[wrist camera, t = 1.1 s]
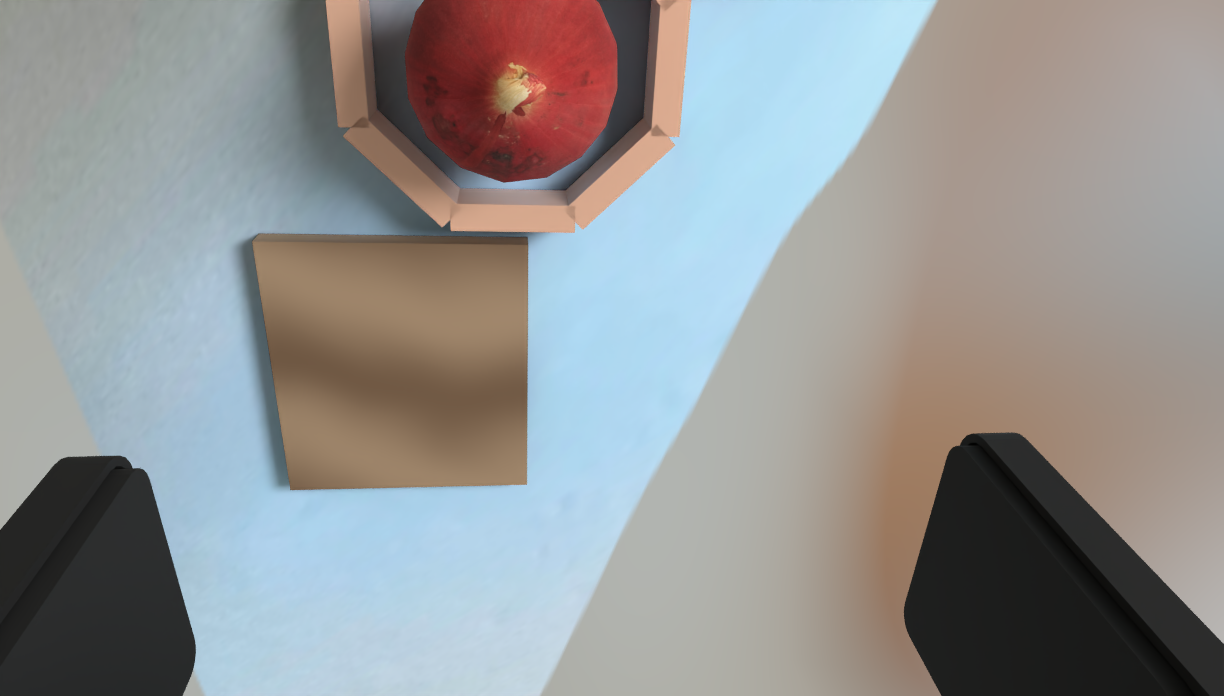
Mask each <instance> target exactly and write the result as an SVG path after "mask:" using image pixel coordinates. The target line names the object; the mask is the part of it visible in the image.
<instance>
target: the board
mask: <svg viewBox="0 0 1224 696" xmlns="http://www.w3.org/2000/svg"><path fill="white" fill-rule="evenodd" d="M252 244H253V251H254V257H255V264H256V270H257V276H258V283H259V289H260V296H261V302H262V309H263V315H264V322H265V328H266V335H267V341H268V347H269V354H270V360H271V367H272V373H273V380H274V386H275V393H276V399H277V406H278V412H279V419H280V425H281V431H282V438H283V444H284V451H285V457H286V464H287V470H288V477H289V483H290V490H312V489H355V488H399V487H443V486H486V485H527V359H528V237H476V236H401V235H326V234H258V235H257V236H256V238H255V239H254V240H253V241H252Z"/></svg>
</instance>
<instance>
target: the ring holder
mask: <svg viewBox="0 0 1224 696" xmlns="http://www.w3.org/2000/svg"><path fill="white" fill-rule="evenodd" d="M326 9H327V19H328V29H329V40H330V50H331V60H332V70H333V80H334V90H335V101H336V111H337V121H338V127H350V128H349V129H348V130H347V132H346V133H345V134H344V135H343V137H344V138H345V139H346V140H347V141H349V142H350V143H351V144H352V145H353V146H354V147H355V148H356V149H357V150H358V151H359V152H361V153H362V154H363V155H364V156H365V157H366V158H367V159H368V160H369V161H370V162H371V163H373V164H374V165H375V166H376V167H377V168H378V169H379V170H380V171H381V172H382V173H383V174H384V175H386V176H387V177H388V178H389V179H390V180H391V181H392V182H393V183H394V184H395V185H396V186H398V187H399V188H400V189H401V190H402V191H403V192H404V193H405V194H406V195H407V196H408V197H410V198H411V199H412V200H413V201H414V202H415V203H416V204H417V205H418V206H419V207H420V208H422V209H423V210H424V211H425V212H426V213H427V214H428V215H429V216H430V217H431V218H432V219H433V220H435V221H436V222H437V223H438V224H439V225H440V226H441V227H443V226H444V225H445V224H446V223H447V222H448V221H450V226H451V231H493V232H564V233H575V222H576V223H577V224H578V225H579V226H580V227H581V228H582V229H584V228H585V227H586V226H587V225H588V224H589V223H591V222H592V221H593V220H594V219H595V218H596V217H597V216H598V215H599V214H600V213H602V212H603V211H604V210H605V209H606V208H607V207H608V206H609V205H610V204H611V203H612V202H614V201H615V200H616V199H617V198H618V197H619V196H620V195H621V194H622V193H623V192H624V191H626V190H627V189H628V188H629V187H630V186H631V185H632V184H633V183H634V182H635V181H637V180H638V179H639V178H640V177H641V176H642V175H643V174H644V173H645V172H646V171H647V170H649V169H650V168H651V167H652V166H653V165H654V164H655V163H656V162H657V161H658V160H660V159H661V158H662V157H663V156H664V155H665V154H666V153H667V152H668V151H669V150H670V149H672V148H673V147H674V146H675V144H674V143H673V142H672V140H671V139H670V138H669V137H679V134H680V123H681V111H682V100H683V88H684V77H685V66H686V54H687V43H688V31H689V20H690V9H691V0H651V11H650V26H649V41H648V56H647V71H646V86H645V101H644V116H643V118H642V119H641V120H640V121H639V122H638V123H637V124H636V125H635V126H634V127H633V128H632V129H631V130H630V131H628V132H627V133H626V134H625V135H624V136H623V137H622V138H621V139H620V140H619V141H618V142H617V143H616V144H615V145H614V146H612V147H611V148H610V149H609V150H608V151H607V152H606V153H605V154H604V155H603V156H602V157H601V158H600V159H599V160H597V161H596V162H595V163H594V164H593V165H592V166H591V167H590V168H589V169H588V170H587V171H586V172H585V173H584V174H583V175H581V176H580V177H579V178H578V179H577V180H576V181H575V182H574V183H573V184H572V185H571V186H570V187H569V188H568V189H566V190H525V189H476V188H459V187H458V186H457V185H456V184H455V183H454V182H453V181H452V180H451V179H450V178H449V177H448V176H447V175H446V174H445V173H444V172H442V171H441V170H440V169H439V168H438V167H437V166H436V165H435V164H434V163H433V162H432V161H431V160H430V159H429V158H428V157H427V156H426V155H425V154H424V153H423V152H422V151H420V150H419V149H418V148H417V147H416V146H415V145H414V144H413V143H412V142H411V141H410V140H409V139H408V138H407V137H406V136H405V135H404V134H403V133H402V132H401V131H400V130H399V129H397V128H396V127H395V126H394V125H393V124H392V123H391V122H390V121H389V120H388V119H387V118H386V117H385V116H384V115H383V114H382V113H381V112H380V111H379V110H378V109H377V99H376V86H375V73H374V59H373V46H372V33H371V20H370V7H369V0H326Z"/></svg>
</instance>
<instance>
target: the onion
mask: <svg viewBox="0 0 1224 696" xmlns="http://www.w3.org/2000/svg"><path fill="white" fill-rule="evenodd" d="M405 64H406V77H407V90H408V99H409V101H410V103H411V105H412V107H413V109H414V111H415V113H416V115H417V118H418V120H419V122H420V124H421V126H422V128H423V130H424V132H425V134H426V136H427V138H428V139H430V140H431V141H432V142H433V143H434V144H435V145H436V146H437V147H438V148H440V149H441V150H442V151H443V152H444V153H445V154H446V155H447V156H449V157H450V158H451V159H452V160H453V161H454V162H455V163H456V164H457V165H459V166H460V167H461V168H463V169H466V170H469V171H472V172H475V173H478V174H481V175H484V176H486V177H489V178H492V179H495V180H498V181H501V182H513V181H521V180H530V179H538V178H546V177H548V176H550V175H552V174H553V173H555V172H557V171H558V170H560V169H562V168H563V167H565V166H567V165H568V164H570V163H572V162H574V161H575V160H577V159H579V158H580V157H582V155H583V154H584V153H585V152H586V151H587V149H588V148H589V147H590V146H591V144H592V143H593V142H594V141H595V139H596V138H597V137H598V136H599V135H600V133H601V132H602V131H603V130H604V128H605V127H606V125H607V121H608V118H609V115H610V112H611V108H612V105H613V102H614V99H615V95H616V92H617V43H616V41H615V38H614V36H613V34H612V31H611V29H610V27H609V25H608V22H607V20H606V18H605V15H604V13H603V11H602V8H601V6H600V4H599V2H597V1H596V0H424V2H423V3H422V4H421V6H420V7H419V8H418V9H417V11H416V13H415V17H414V21H413V24H412V28H411V32H410V36H409V39H408V43H407V47H406V51H405Z"/></svg>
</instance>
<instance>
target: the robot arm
mask: <svg viewBox="0 0 1224 696" xmlns="http://www.w3.org/2000/svg"><path fill="white" fill-rule="evenodd" d="M904 619H905V625H906V629H907V632H908V634H909V636H910V638H911V640H912V642H913V644H914V646H915V648H916V649H917V651H918V653H919V655H920V657H921V659H922V660H923V662H924V664H925V666H926V668H927V670H928V672H929V673H930V675H931V677H932V679H933V681H934V683H935V684H936V686H937V688H938V690H939V692H940V694H941V696H1224V644H1223V643H1222V642H1221V641H1220V640H1219V639H1218V638H1217V637H1216V636H1215V635H1214V634H1213V633H1212V632H1211V630H1210V629H1209V628H1208V627H1207V626H1206V625H1204V623H1203V622H1202V621H1201V620H1200V619H1199V618H1198V617H1197V616H1196V615H1195V614H1194V613H1193V612H1192V611H1191V610H1190V609H1189V608H1188V607H1187V606H1186V604H1185V603H1184V602H1183V601H1182V600H1181V599H1180V598H1179V597H1178V596H1177V595H1176V594H1175V593H1174V592H1173V591H1172V590H1171V589H1170V588H1169V587H1168V586H1167V585H1166V584H1165V583H1164V582H1163V581H1162V580H1161V579H1160V577H1159V576H1158V575H1157V574H1156V573H1155V572H1154V571H1153V570H1152V569H1151V568H1150V567H1149V566H1148V565H1147V564H1146V563H1145V562H1144V561H1143V560H1142V559H1141V558H1140V557H1139V556H1138V555H1137V554H1136V553H1135V551H1134V550H1133V549H1132V548H1131V547H1130V546H1129V545H1128V544H1127V543H1126V542H1125V541H1124V540H1123V539H1122V538H1121V537H1120V536H1119V535H1118V534H1117V533H1116V532H1115V531H1114V530H1113V529H1112V528H1111V527H1110V526H1109V524H1107V522H1106V521H1105V520H1104V519H1103V518H1102V517H1101V516H1100V515H1099V514H1098V513H1097V512H1096V511H1095V510H1094V509H1093V508H1092V507H1091V506H1090V505H1089V504H1088V503H1087V502H1086V501H1085V500H1084V499H1083V498H1082V496H1081V495H1079V494H1078V492H1077V491H1075V489H1074V488H1073V487H1072V486H1071V485H1070V484H1069V483H1068V482H1067V481H1066V480H1065V479H1064V478H1063V477H1062V476H1061V475H1060V474H1059V473H1058V472H1057V470H1056V469H1055V468H1054V467H1053V466H1051V464H1050V463H1049V462H1048V461H1047V460H1046V459H1045V458H1044V457H1043V456H1042V455H1041V454H1040V453H1039V452H1038V451H1037V450H1036V449H1035V448H1034V447H1033V446H1032V445H1031V443H1029V441H1028V440H1026V439H1025V438H1024V437H1023V436H1022V435H1020V434H1017V433H981V434H980V433H978V434H970V435H967V436H966V437H965V438H964V439H963V440H962V442H961V444H960V446H955V447H953V448H952V449H951V450H950V451H949V454H948V456H947V459H946V463H945V466H944V470H943V473H942V477H941V480H940V484H939V487H938V490H937V494H936V498H935V501H934V505H933V508H932V511H931V515H930V518H929V522H928V525H927V529H926V532H925V536H924V539H923V543H922V546H921V549H920V553H919V556H918V560H917V564H916V567H915V570H914V574H913V577H912V581H911V584H910V588H909V592H908V595H907V598H906V602H905V607H904ZM195 655H196V645H195V639H194V635H193V632H192V628H191V625H190V621H189V617H188V614H187V610H186V607H185V603H184V600H183V596H182V593H181V589H180V586H179V582H178V579H177V575H176V571H175V568H174V564H173V561H172V557H171V554H170V550H169V547H168V543H167V540H166V536H165V532H164V529H163V525H162V522H161V518H160V515H159V511H158V508H157V504H156V501H155V497H154V494H153V490H152V486H151V483H150V480H149V477H148V475H147V473H146V472H145V471H144V470H143V469H140V468H134V469H133V468H132V466H131V463H130V462H129V461H128V460H127V459H126V458H125V457H122V456H87V457H66V458H63V459H61V460H60V461H58V462H57V463H56V464H55V465H54V466H53V467H52V468H51V470H50V471H49V472H48V473H47V475H46V476H45V477H44V478H43V479H42V480H41V482H40V483H39V484H38V485H37V486H36V488H35V489H34V490H33V491H32V492H31V494H30V495H29V496H28V497H27V498H26V500H25V501H24V502H23V503H22V504H21V506H20V507H19V508H18V509H17V510H16V512H15V513H14V514H13V515H12V517H11V518H10V519H9V520H8V522H7V523H6V524H5V525H4V526H3V527H2V529H1V530H0V696H183V693H184V691H185V689H186V686H187V684H188V682H189V679H190V677H191V674H192V671H193V668H194V663H195Z"/></svg>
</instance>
